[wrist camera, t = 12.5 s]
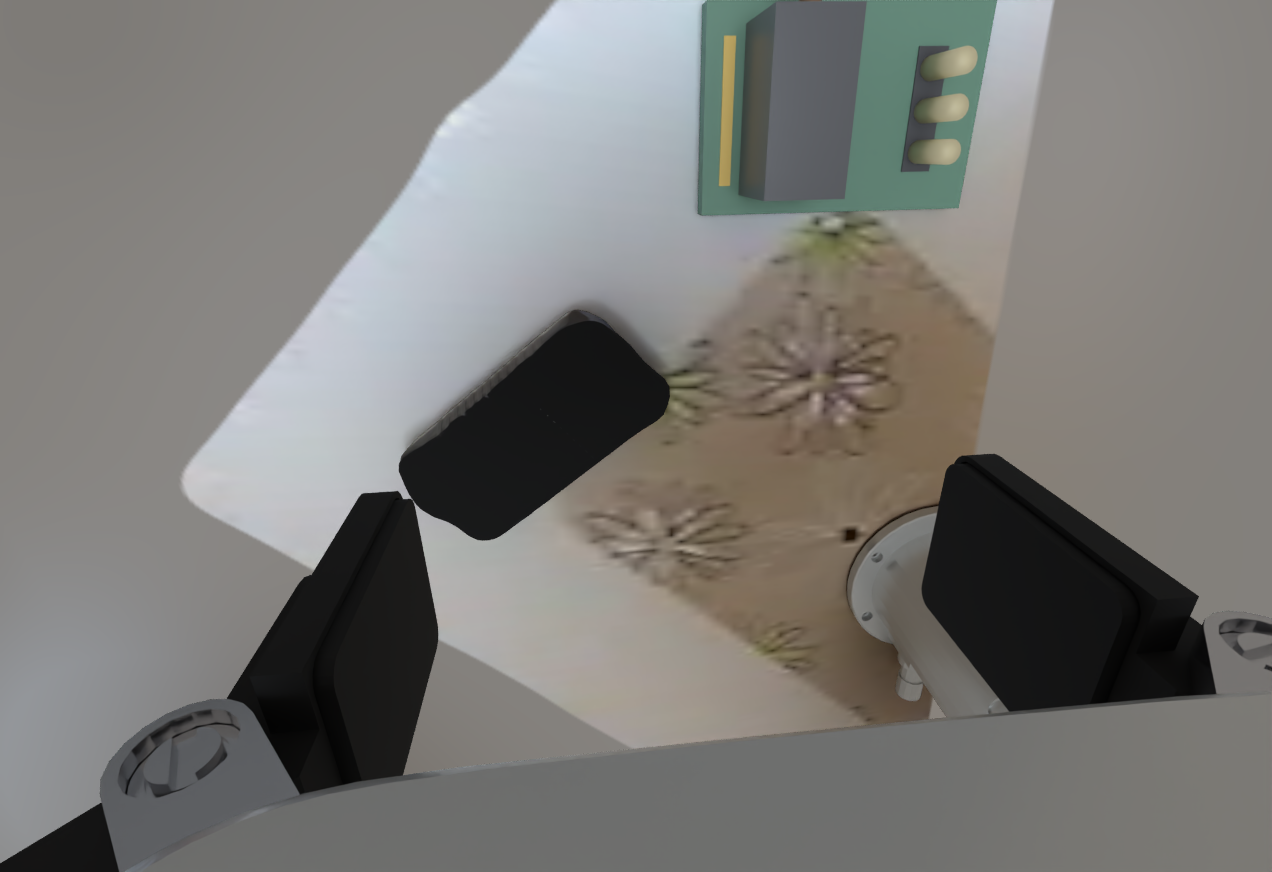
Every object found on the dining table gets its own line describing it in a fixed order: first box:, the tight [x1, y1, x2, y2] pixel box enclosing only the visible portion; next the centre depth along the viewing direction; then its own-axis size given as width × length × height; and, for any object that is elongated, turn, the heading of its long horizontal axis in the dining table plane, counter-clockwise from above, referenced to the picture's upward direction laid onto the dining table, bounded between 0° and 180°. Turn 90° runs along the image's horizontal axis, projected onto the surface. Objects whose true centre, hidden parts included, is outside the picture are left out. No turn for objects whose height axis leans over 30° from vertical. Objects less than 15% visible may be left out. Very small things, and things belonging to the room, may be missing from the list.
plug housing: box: [738, 0, 867, 201], centre depth 30 cm, size 10×4×5 cm, turn 1°
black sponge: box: [399, 310, 670, 540], centre depth 39 cm, size 16×8×4 cm, turn 128°
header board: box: [698, 0, 997, 215], centre depth 32 cm, size 10×15×4 cm, turn 91°
